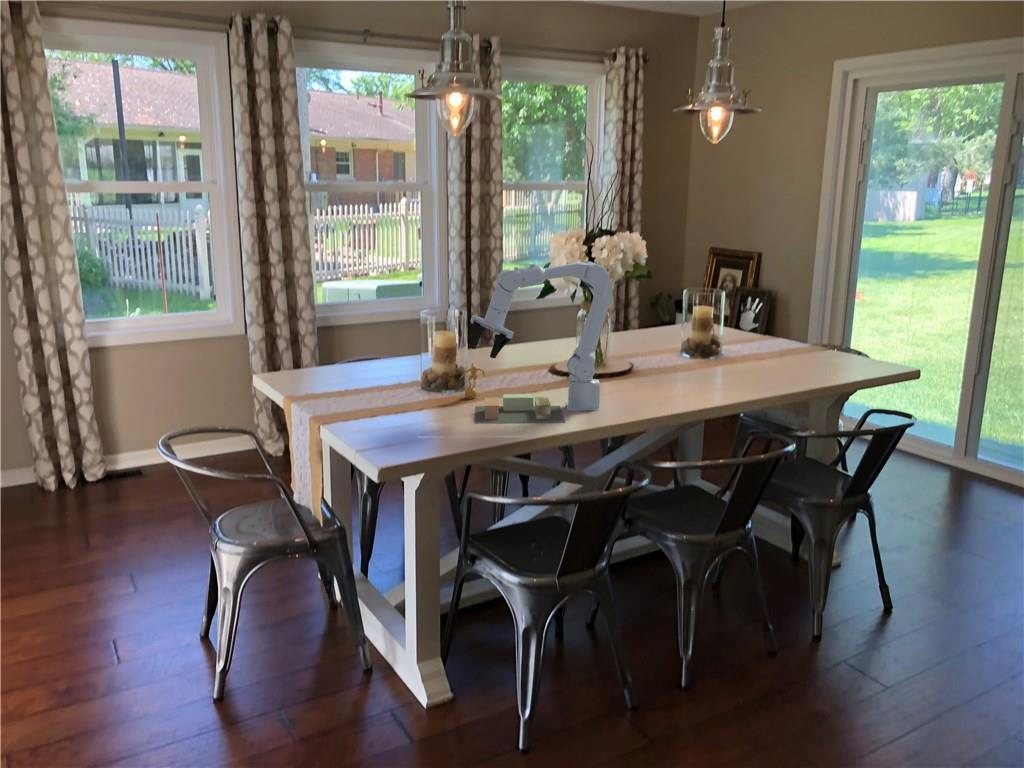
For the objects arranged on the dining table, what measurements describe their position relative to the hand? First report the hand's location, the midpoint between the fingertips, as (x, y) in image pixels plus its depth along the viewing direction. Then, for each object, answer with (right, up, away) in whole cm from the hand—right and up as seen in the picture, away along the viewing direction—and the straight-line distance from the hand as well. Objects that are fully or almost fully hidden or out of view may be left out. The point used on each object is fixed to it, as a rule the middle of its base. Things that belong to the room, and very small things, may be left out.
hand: (482, 353), depth 245 cm
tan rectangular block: (+3, -18, +2) cm, 18 cm away
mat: (+11, -18, +2) cm, 21 cm away
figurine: (-4, -14, +19) cm, 24 cm away
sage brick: (+11, -17, +8) cm, 21 cm away
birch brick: (+18, -18, +2) cm, 25 cm away
